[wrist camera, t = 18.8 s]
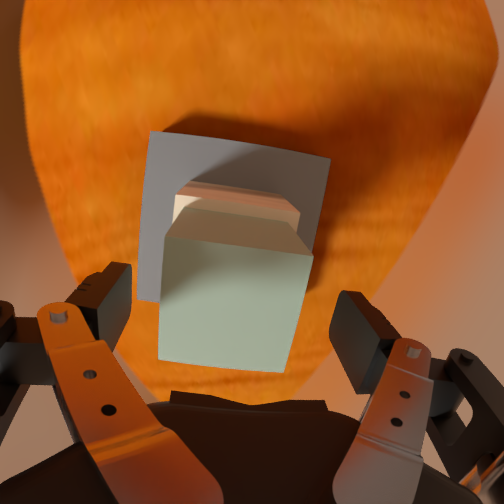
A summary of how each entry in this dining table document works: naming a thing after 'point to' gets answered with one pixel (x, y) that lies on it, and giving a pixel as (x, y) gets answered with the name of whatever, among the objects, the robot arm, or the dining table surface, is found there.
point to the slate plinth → (222, 173)
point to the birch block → (235, 202)
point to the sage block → (231, 290)
